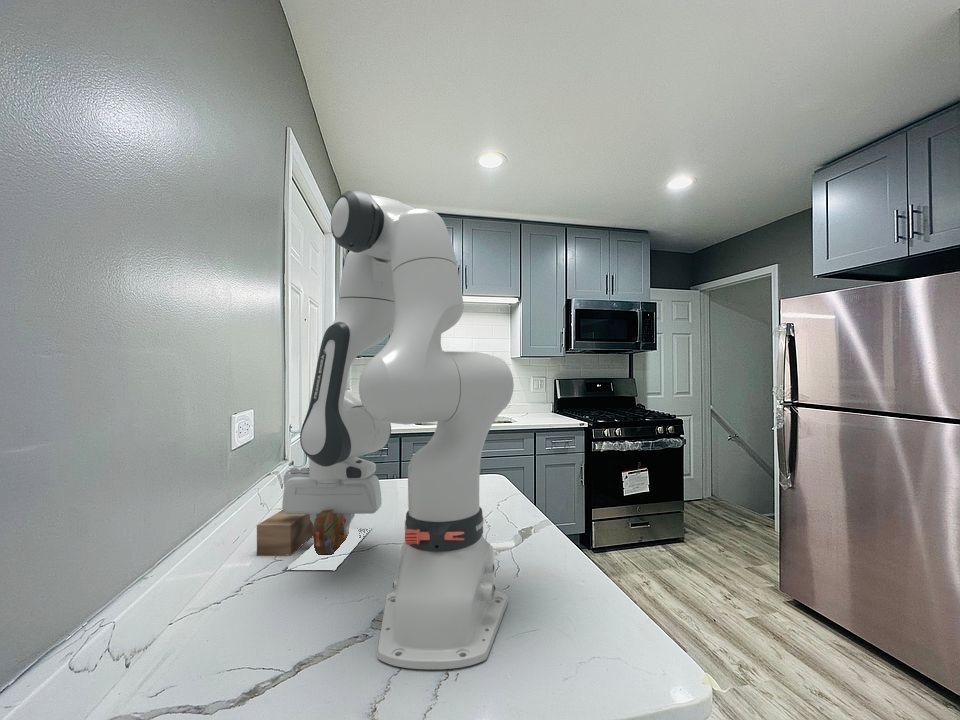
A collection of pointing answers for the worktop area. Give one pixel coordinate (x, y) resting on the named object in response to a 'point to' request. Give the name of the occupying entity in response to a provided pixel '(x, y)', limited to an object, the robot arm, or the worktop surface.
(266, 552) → the block
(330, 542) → the tin
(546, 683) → the worktop surface
